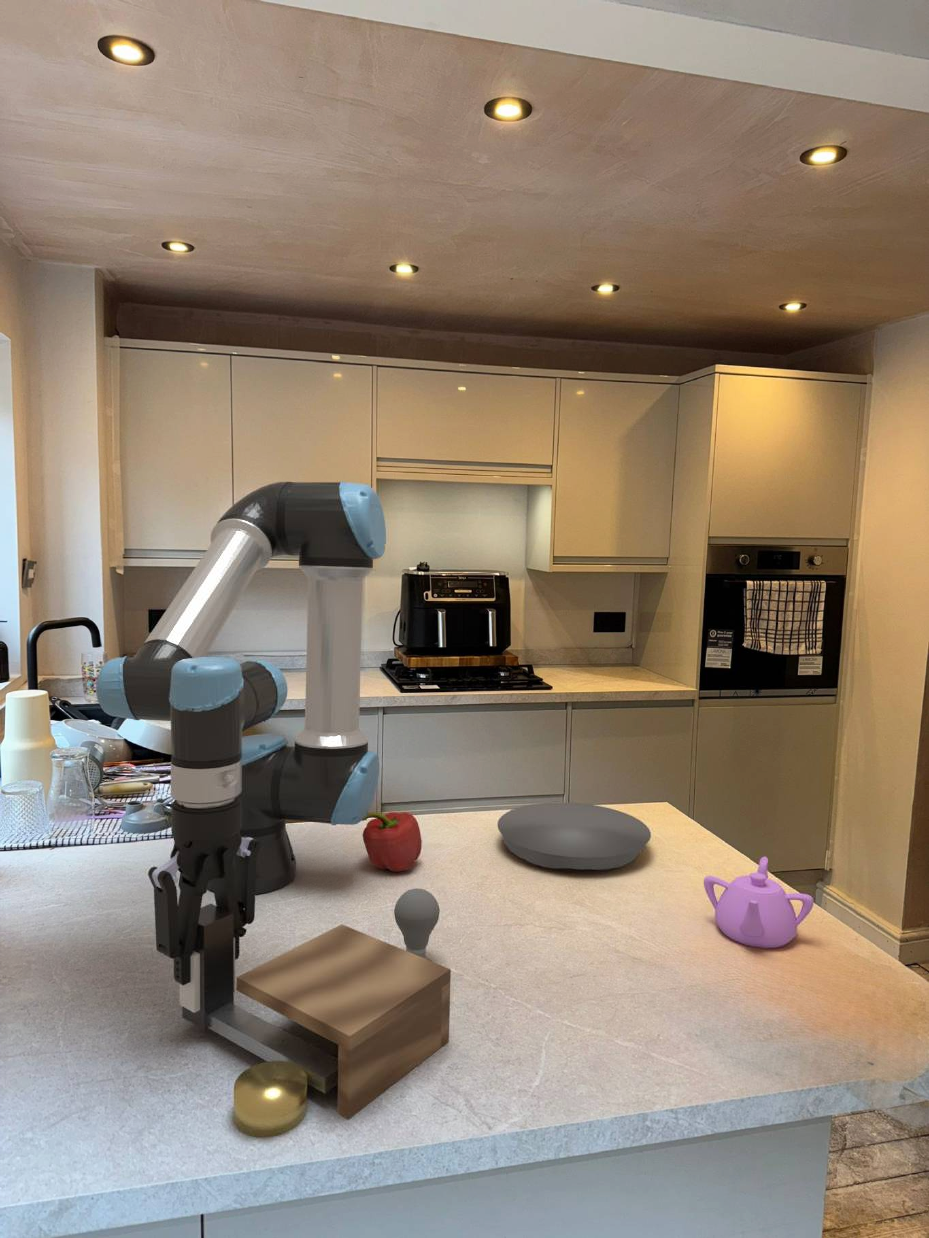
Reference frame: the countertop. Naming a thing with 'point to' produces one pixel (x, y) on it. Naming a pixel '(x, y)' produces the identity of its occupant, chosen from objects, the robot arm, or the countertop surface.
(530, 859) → the flat disc
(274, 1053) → the l-shaped hook tool
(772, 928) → the teapot
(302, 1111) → the ball
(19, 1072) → the countertop surface
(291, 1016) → the shelf
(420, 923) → the light bulb
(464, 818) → the countertop surface
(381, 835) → the vegetable
